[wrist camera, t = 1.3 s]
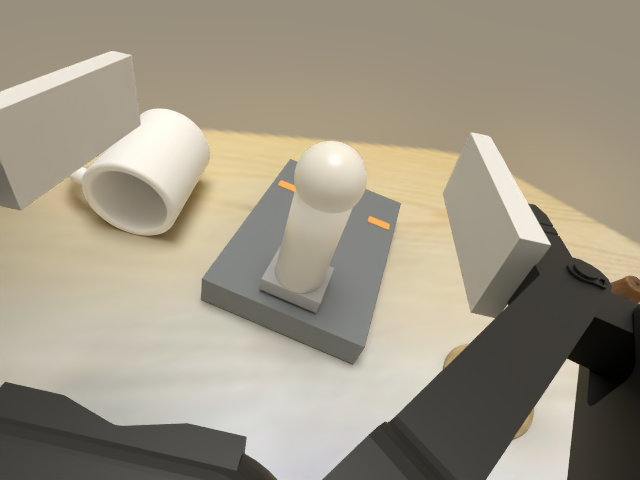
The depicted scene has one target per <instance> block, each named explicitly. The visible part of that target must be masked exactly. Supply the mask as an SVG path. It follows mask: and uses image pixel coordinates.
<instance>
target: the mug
mask: <svg viewBox="0 0 640 480" xmlns="http://www.w3.org/2000/svg"><path fill="white" fill-rule="evenodd" d="M140 122H141V125H140V126H139V127H137V128H136V129H135V130H133V131H132V132H130V133H129V134H128V135H126V136H125V137H123V138H122V139H121V140H119V141H118V142H116V143H115V144H113V145H112V146H111V147H109V148H108V149H107V150H106V151H105V152H104V153H103V154H102V155H101V156H100V157H99V158H98V159H97V160H96V161H95V162H94V163H93V164H92V165H91V166H90V167H89V168H88V169H86V168H84V167H81V168H80V169H78V170H77V171H75V172H74V173H73V174H71V175H70V176H68V177H69V178H70V179H71V180H73V181H75V182H77V183H79V184H81V185H82V191H83V194H84V196H85V198H86V200H87V202H88V203H89V205H90V206H91V207H92V209H93V210H94V211H95V212H96V213H97V214H98V215H99V216H100V217H102V218H103V219H104V220H105V221H107V222H108V223H110V224H112V225H113V226H115V227H117V228H119V229H121V230H124V231H126V232H129V233H133V234H137V235H146V236H150V235H158V234H161V233H164V232H165V231H167V230H169V229H170V228H171V227H172V225H173V224H174V222H175V220H176V219H177V217H178V215H179V214H180V212H181V210H182V208H183V207H184V205H185V203H186V201H187V200H188V198H189V196H190V194H191V193H192V191H193V189H194V187H195V186H196V184H197V182H198V181H199V179H200V177H201V175H202V174H203V172H204V170H205V168H206V167H207V165H208V162H209V159H210V149H209V145H208V142H207V140H206V138H205V136H204V134H203V133H202V131H201V130H200V129H199V128H198V127H197V126H196V124H194V123H193V122H192V121H191V120H190V119H188V118H187V117H185V116H183V115H182V114H180V113H177V112H174V111H172V110H168V109H152V110H148V111H146V112H144V113H142V114H141V115H140Z"/></svg>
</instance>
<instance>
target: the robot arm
mask: <svg viewBox="0 0 640 480" xmlns="http://www.w3.org/2000/svg"><path fill="white" fill-rule="evenodd" d="M140 125H141V122H140V115H139V107H138V100H137V92H136V85H135V77H134V70H133V63H132V56H131V55H128V54H123V53H119V52H114V51H110V52H107V53H105V54H102V55H99V56H97V57H94V58H91V59H88V60H86V61H83V62H80V63H77V64H74V65H72V66H69V67H66V68H63V69H61V70H58V71H55V72H52V73H50V74H47V75H44V76H42V77H39V78H36V79H33V80H31V81H28V82H25V83H22V84H20V85H17V86H14V87H11V88H9V89H6V90H3V91H0V206H4V207H8V208H12V209H17V210H22V209H23V208H25V207H26V206H28V205H29V204H30V203H32V202H33V201H35V200H36V199H37V198H39V197H40V196H42V195H43V194H45V193H46V192H47V191H49V190H50V189H52V188H53V187H54V186H56V185H57V184H59V183H60V182H61V181H63V180H64V179H66V178H67V177H68V176H70V175H71V174H73V173H74V172H75V171H77V170H78V169H80V168H81V167H83V166H84V165H85V164H87V163H88V162H90V161H91V160H92V159H94V158H95V157H97V156H98V155H99V154H101V153H102V152H104V151H105V150H106V149H108V148H109V147H111V146H112V145H113V144H115V143H116V142H118V141H119V140H121V139H122V138H123V137H125V136H126V135H128V134H129V133H130V132H132V131H133V130H135V129H136V128H137V127H139V126H140ZM443 196H444V201H445V205H446V209H447V213H448V218H449V222H450V226H451V230H452V235H453V239H454V243H455V248H456V252H457V256H458V260H459V265H460V269H461V273H462V277H463V282H464V286H465V290H466V294H467V299H468V303H469V307H470V311H471V313H475V314H480V315H484V316H488V317H493V318H495V319H494V320H493V321H492V322H491V323H490V324H489V325H488V326H487V327H486V328H485V329H484V330H483V331H482V332H481V333H480V334H479V335H478V336H477V337H476V338H475V339H474V340H473V341H472V342H471V343H470V344H469V345H468V346H467V347H466V348H465V349H464V350H463V351H462V352H461V353H460V354H459V355H458V356H457V357H456V358H455V359H454V360H453V361H452V362H451V363H449V364H448V365H447V366H446V367H445V368H444V369H443V370H442V371H441V372H440V373H439V374H438V375H437V376H436V377H435V378H434V379H433V380H432V381H431V382H430V383H429V384H428V385H427V386H426V387H425V388H424V389H423V390H422V391H421V392H420V393H419V394H418V395H417V396H416V397H415V398H414V399H413V400H412V401H411V402H410V403H409V404H408V405H407V406H406V407H405V408H404V409H403V410H402V411H401V412H400V413H399V414H397V415H396V416H395V417H394V418H393V419H392V420H391V421H390V422H388V423H387V422H384V423H382V424H381V425H379V426H378V427H377V428H376V429H375V430H374V431H373V432H371V433H370V434H369V435H368V436H367V437H366V438H365V439H364V440H363V441H362V442H361V443H360V444H359V445H358V446H357V447H356V448H355V449H354V450H353V451H352V452H351V453H349V454H348V455H347V456H346V457H345V458H344V459H343V460H342V461H341V462H340V463H339V464H338V465H337V466H336V467H335V468H334V469H333V470H332V471H331V472H330V473H329V474H328V475H327V476H326V477H325V478H323V479H322V480H486V479H487V477H488V476H489V474H490V473H491V471H492V470H493V468H494V467H495V465H496V464H497V462H498V461H499V459H500V458H501V456H502V455H503V453H504V452H505V450H506V449H507V447H508V446H509V444H510V443H511V441H512V440H513V438H514V437H515V435H516V434H517V432H518V431H519V429H520V428H521V426H522V425H523V423H524V422H525V420H526V419H527V417H528V416H529V414H530V413H531V411H532V410H533V408H534V407H535V405H536V404H537V402H538V401H539V399H540V398H541V396H542V395H543V393H544V392H545V390H546V389H547V387H548V386H549V384H550V383H551V381H552V380H553V378H554V377H555V375H556V374H557V372H558V371H559V369H560V368H561V366H562V365H563V363H564V362H565V360H566V359H569V360H571V361H573V362H575V363H577V364H579V373H578V383H577V392H576V402H575V411H574V421H573V430H572V440H571V449H570V458H569V468H568V477H567V480H640V304H637V303H635V302H633V301H630V300H628V299H626V298H623V297H621V296H618V295H616V294H614V293H611V290H612V285H611V284H610V282H609V280H608V278H607V277H606V276H605V275H604V274H603V273H602V272H601V271H599V270H598V269H596V268H595V267H593V266H592V265H590V264H588V263H586V262H584V261H582V260H580V259H576V258H573V257H572V256H571V254H570V253H569V251H568V249H567V248H566V246H565V245H564V243H563V241H562V240H561V238H560V236H558V233H557V231H556V230H555V228H553V225H552V223H551V222H550V220H549V218H548V217H547V215H546V214H545V213H543V212H542V211H541V210H540V209H539V208H538V207H537V206H536V205H533V204H528V203H527V201H526V199H525V198H524V196H523V194H522V192H521V190H520V189H519V187H518V185H517V183H516V182H515V180H514V178H513V176H512V174H511V173H510V171H509V169H508V167H507V166H506V164H505V162H504V160H503V158H502V157H501V155H500V153H499V151H498V150H497V148H496V146H495V144H494V142H493V141H492V139H491V137H490V136H486V135H481V134H476V133H472V132H470V134H469V136H468V139H467V141H466V143H465V145H464V148H463V150H462V152H461V154H460V156H459V159H458V161H457V163H456V165H455V167H454V170H453V172H452V174H451V176H450V179H449V181H448V183H447V185H446V187H445V190H444V192H443ZM507 304H508V307H507V308H506V309H505V310H504V308H505V307H506V306H507ZM503 310H504V311H503ZM502 311H503V312H502ZM501 312H502V313H501ZM245 446H246V437H245V436H241V435H236V434H232V433H227V432H223V431H219V430H214V429H210V428H205V427H201V426H197V425H192V424H188V423H185V424H160V425H136V426H118V425H114V424H112V423H110V422H108V421H106V420H105V419H103V418H101V417H100V416H98V415H96V414H95V413H93V412H91V411H90V410H88V409H86V408H85V407H83V406H81V405H79V404H78V403H76V402H74V401H73V400H71V399H69V398H68V397H66V396H64V395H60V394H56V393H52V392H47V391H43V390H38V389H34V388H30V387H25V386H21V385H16V384H12V383H8V382H5V383H4V384H3V385H2V386H1V387H0V480H277V479H276V478H275V477H274V476H273V475H272V474H271V472H270V471H269V470H267V469H266V468H265V467H264V466H262V465H261V464H260V463H259V462H257V461H256V460H254V459H253V458H251V457H249V456H248V455H246V454H245Z"/></svg>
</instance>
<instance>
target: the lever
mask: <svg viewBox="0 0 640 480" xmlns="http://www.w3.org/2000/svg"><path fill="white" fill-rule="evenodd" d="M294 182H295V192H294V196H293V200H292V204H291V208H290V212H289V216H288V220H287V224H286V228H285V232H284V236H283V240H282V244H281V246H280V247H279V249H278V251H277V252H276V254H275V256H274V258H273V259H272V261H271V263H270V265H269V266H268V268H267V270H266V271H265V273H264V275H263V277H262V278H261V282H260V287H259V289H260V290H262V291H265V292H267V293H269V294H272V295H274V296H277V297H279V298H281V299H284V300H286V301H288V302H291V303H293V304H296V305H298V306H300V307H303V308H305V309H307V310H310V311H312V312H315V313H316V312H317V310H318V308H319V305H320V303H321V301H322V298H323V296H324V293H325V290H326V288H327V285H328V283H329V280H330V278H331V275H332V273H333V270H334V268H333V267H331V266H329V264H330V262H331V259H332V257H333V255H334V252H335V250H336V247H337V245H338V242H339V240H340V238H341V235H342V233H343V230H344V228H345V225H346V223H347V221H348V218H349V216H350V213H351V211H352V208H353V207H354V206H355V205H356V204H357V203H358V202H359V200H360V199H361V198H362V196H363V194H364V192H365V189H366V185H367V171H366V167H365V164H364V162H363V160H362V158H361V157H360V155H359V154H358V153H357V152H356V151H355V150H354V149H353V148H351V147H350V146H348V145H346V144H344V143H341V142H337V141H325V142H321V143H318V144H316V145H314V146H312V147H310V148H309V149H308V150H306V151H305V152H304V154H303V155H302V156H301V157H300V159H299V161H298V163H297V166H296V169H295V174H294Z"/></svg>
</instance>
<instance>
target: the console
mask: <svg viewBox="0 0 640 480" xmlns="http://www.w3.org/2000/svg"><path fill="white" fill-rule="evenodd" d="M297 163H298V162H297V161H294V160H292V159H290V160H289V162H288V163H287V164H286V166H285V167H284V168H283V170H282V171H281V172H280V174H279V175H278V177H277V178H276V179H275V181H274V182H273V183H272V185H271V186H270V187H269V189H268V190H267V191H266V193H265V194H264V195H263V197H262V198H261V200H260V201H259V202H258V204H257V205H256V206H255V208H254V209H253V210H252V212H251V213H250V214H249V216H248V217H247V218H246V220H245V221H244V222H243V224H242V225H241V227H240V228H239V229H238V231H237V232H236V233H235V235H234V236H233V237H232V239H231V240H230V241H229V243H228V244H227V245H226V247H225V248H224V250H223V251H222V252H221V254H220V255H219V256H218V258H217V259H216V260H215V262H214V263H213V264H212V266H211V267H210V268H209V270H208V271H207V273H206V274H205V275H204V277H203V278H202V293H201V300H203V301H205V302H208V303H210V304H213V305H215V306H217V307H220V308H222V309H224V310H227V311H229V312H231V313H234V314H236V315H238V316H241V317H243V318H245V319H248V320H250V321H252V322H255V323H257V324H259V325H262V326H264V327H266V328H269V329H271V330H273V331H276V332H278V333H281V334H283V335H285V336H288V337H290V338H292V339H295V340H297V341H299V342H302V343H304V344H306V345H309V346H311V347H313V348H316V349H318V350H320V351H323V352H325V353H327V354H330V355H332V356H334V357H337V358H339V359H341V360H344V361H346V362H349V363H351V364H353V363H354V362H355V360H356V359H357V358H358V356H359V355H360V353H361V352H362V350H363V349H364V347H365V343H366V339H367V335H368V331H369V327H370V324H371V320H372V316H373V312H374V308H375V304H376V300H377V296H378V292H379V288H380V284H381V280H382V276H383V272H384V268H385V264H386V260H387V256H388V252H389V248H390V244H391V241H392V237H393V233H394V229H395V225H396V221H397V217H398V213H399V209H400V205H401V203H399V202H396V201H394V200H391V199H389V198H386V197H384V196H381V195H379V194H376V193H374V192H371V191H369V190H366V189H365V192H364V194H363V196H362V198H361V199H360V200H359V202H358V203H357V204H356V205H355V206H354V207H353V208H352V211H351V213H350V216H349V218H348V221H347V223H346V225H345V228H344V230H343V233H342V235H341V238H340V240H339V242H338V245H337V247H336V250H335V252H334V255H333V257H332V259H331V262H330V264H329V266H331V267H333V268H334V270H333V273H332V275H331V278H330V280H329V283H328V285H327V288H326V290H325V293H324V296H323V298H322V301H321V303H320V305H319V308H318V310H317V312H316V313H315V312H312V311H310V310H307V309H305V308H303V307H300V306H298V305H296V304H293V303H291V302H288V301H286V300H284V299H281V298H279V297H277V296H274V295H272V294H269V293H267V292H265V291H262V290H260V289H259V287H260V282H261V278H262V277H263V275H264V273H265V271H266V270H267V268H268V266H269V265H270V263H271V261H272V259H273V258H274V256H275V254H276V252H277V251H278V249H279V247H280V246H281V244H282V240H283V236H284V232H285V228H286V224H287V220H288V216H289V212H290V208H291V204H292V200H293V196H294V192H295V182H294V174H295V169H296V166H297Z"/></svg>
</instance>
